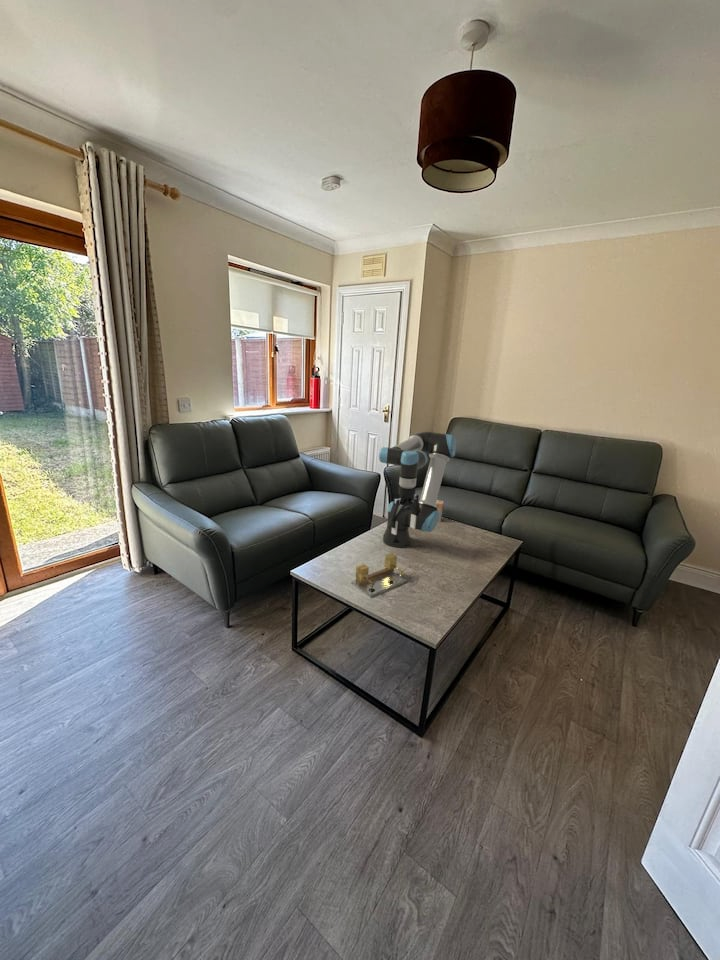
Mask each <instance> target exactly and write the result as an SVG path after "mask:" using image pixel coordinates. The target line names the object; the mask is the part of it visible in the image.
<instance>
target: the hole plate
mask: <svg viewBox="0 0 720 960" xmlns="http://www.w3.org/2000/svg"><path fill="white" fill-rule="evenodd" d="M372 582H373V583H375V584H374V585H373V589H371V583H370V582H367V583H364V584H362V585H359V586H358V585H357V584H356V579H354V580H352V581H351V584H352V585H353V586H355V588H357V589H358V590H360V591H361V592H362V593H364V594H365V595H366V596H368V597H369V598H372V597H375V596H377V595H379V594H382V593H384V592H387V591H389V590H390V589H393V588H395V587H398V586H400V585H402V584H405V583H406V582H407V579H405V578H404V577H402V576H401V578H400V574H399V575H398V574H397V573H395V571H394V572H392V573H389V574H387V575H384V576H382V577H379V578H377V579H374V580H372Z"/></svg>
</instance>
